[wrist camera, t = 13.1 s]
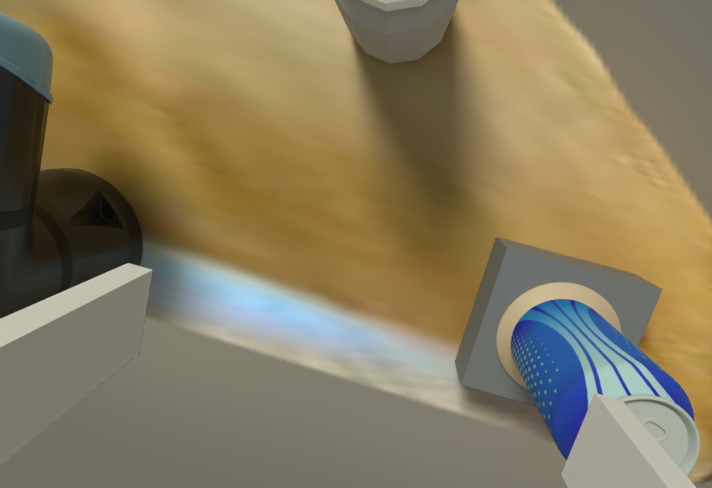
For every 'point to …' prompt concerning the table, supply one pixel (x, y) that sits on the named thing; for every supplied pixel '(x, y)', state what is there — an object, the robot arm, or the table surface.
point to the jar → (397, 26)
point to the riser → (531, 287)
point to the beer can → (598, 377)
